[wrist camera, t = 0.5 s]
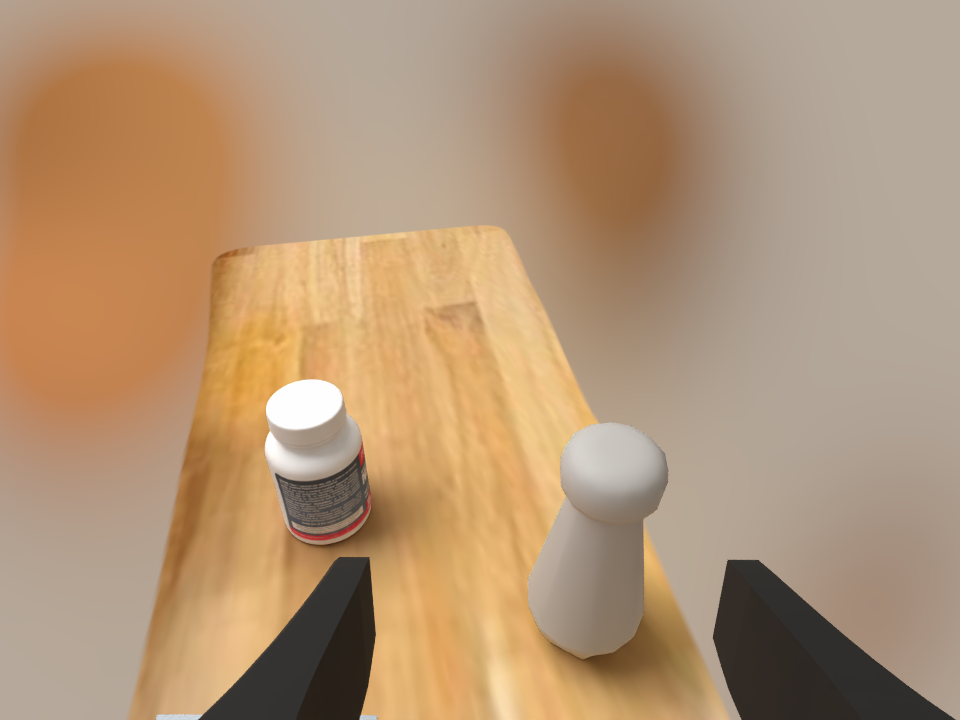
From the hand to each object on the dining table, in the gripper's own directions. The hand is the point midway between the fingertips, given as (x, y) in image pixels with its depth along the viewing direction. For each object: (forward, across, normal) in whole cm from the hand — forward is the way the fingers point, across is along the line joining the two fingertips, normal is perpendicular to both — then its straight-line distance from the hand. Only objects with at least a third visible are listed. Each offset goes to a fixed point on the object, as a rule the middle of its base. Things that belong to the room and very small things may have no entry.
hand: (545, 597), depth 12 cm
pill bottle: (+22, +11, +14) cm, 28 cm away
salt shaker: (+15, -4, +16) cm, 22 cm away
